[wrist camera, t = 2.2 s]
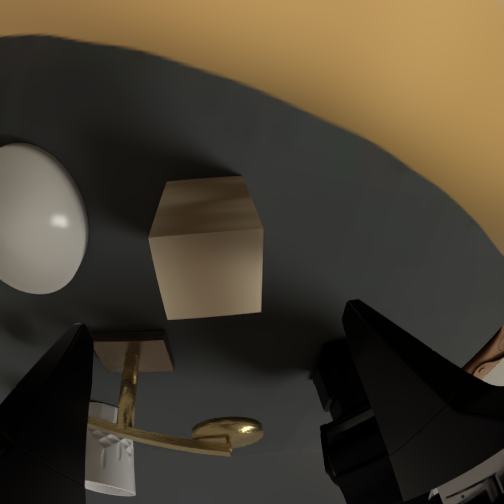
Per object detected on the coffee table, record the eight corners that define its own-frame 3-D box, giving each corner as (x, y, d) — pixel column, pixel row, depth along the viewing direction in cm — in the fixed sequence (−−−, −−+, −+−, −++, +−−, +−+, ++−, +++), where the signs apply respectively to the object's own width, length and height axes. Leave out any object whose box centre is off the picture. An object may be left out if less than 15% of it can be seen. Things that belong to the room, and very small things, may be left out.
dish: (70, 124, 12) (60, 128, 11) (106, 279, 17) (102, 291, 16) (-40, 164, 10) (-50, 170, 9) (2, 285, 16) (-4, 295, 15)
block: (242, 175, 15) (263, 228, 10) (243, 240, 17) (260, 311, 12) (166, 181, 15) (148, 237, 10) (175, 246, 17) (167, 320, 12)
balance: (244, 321, 21) (268, 438, 13) (245, 357, 23) (265, 458, 16) (35, 329, 19) (2, 421, 11) (56, 361, 21) (35, 447, 13)
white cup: (69, 392, 24) (56, 472, 16) (136, 406, 26) (133, 489, 18) (81, 419, 28) (73, 486, 19) (137, 430, 30) (137, 498, 22)
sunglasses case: (505, 322, 33) (523, 347, 30) (499, 316, 39) (516, 338, 35) (435, 391, 40) (453, 413, 37) (437, 378, 46) (454, 398, 42)
